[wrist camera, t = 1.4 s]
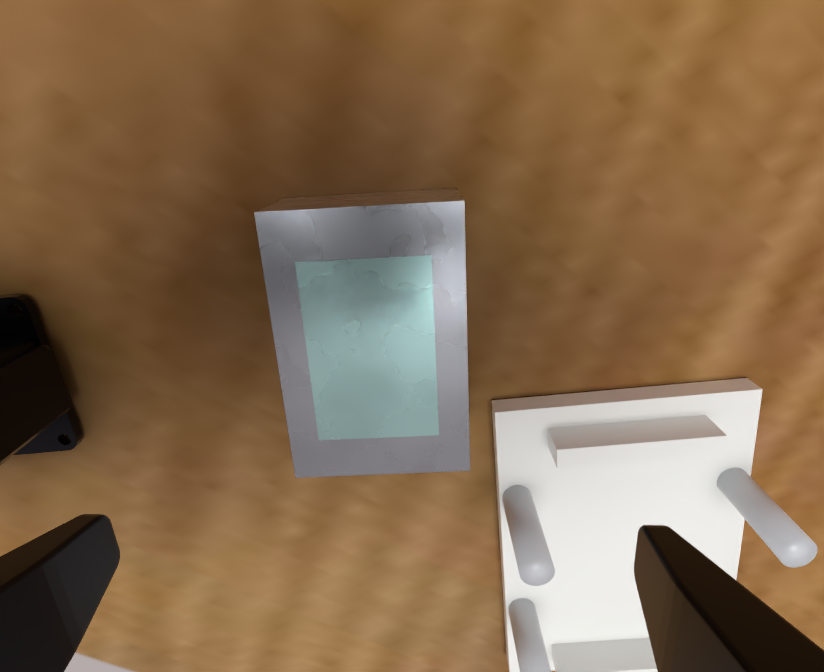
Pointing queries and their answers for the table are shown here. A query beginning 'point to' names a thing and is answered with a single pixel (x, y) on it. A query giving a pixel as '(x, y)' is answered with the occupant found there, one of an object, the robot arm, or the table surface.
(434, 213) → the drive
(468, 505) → the table surface
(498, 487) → the white peg stand
